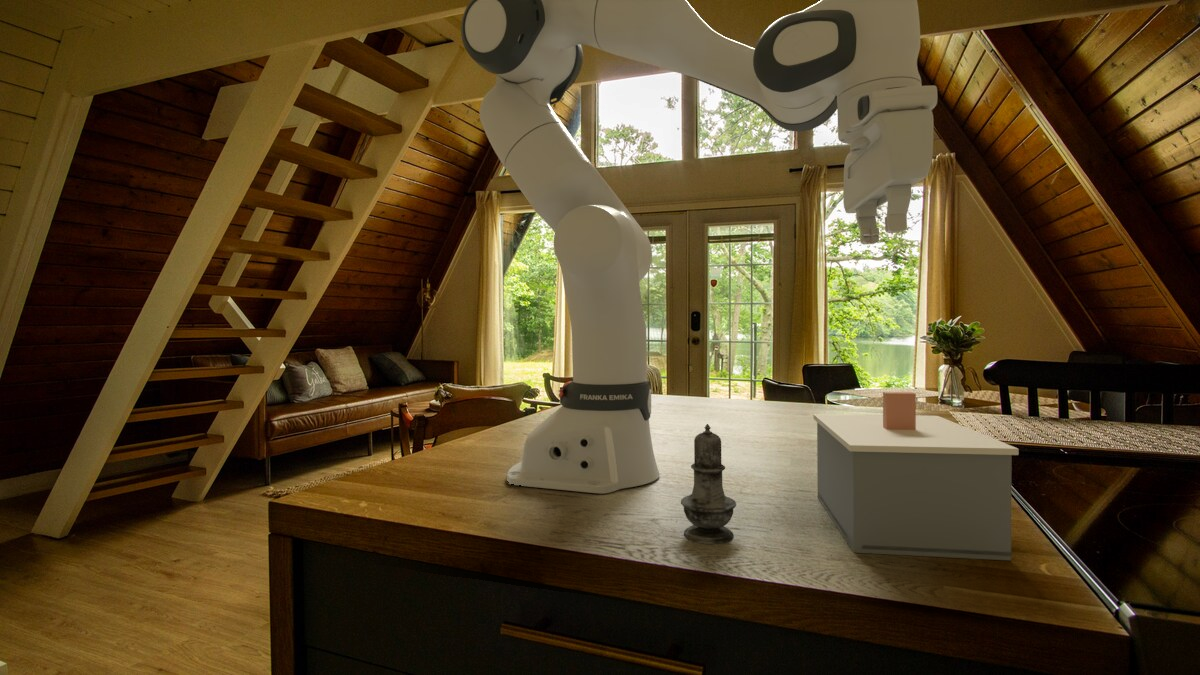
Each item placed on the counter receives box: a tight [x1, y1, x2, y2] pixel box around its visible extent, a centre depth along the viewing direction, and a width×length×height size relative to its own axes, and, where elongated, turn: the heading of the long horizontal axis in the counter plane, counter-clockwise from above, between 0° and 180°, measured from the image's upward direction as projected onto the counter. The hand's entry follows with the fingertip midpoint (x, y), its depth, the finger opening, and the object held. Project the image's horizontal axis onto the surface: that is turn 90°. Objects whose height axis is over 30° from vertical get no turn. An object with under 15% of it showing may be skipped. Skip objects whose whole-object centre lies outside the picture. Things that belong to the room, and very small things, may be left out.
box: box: [816, 422, 1013, 561], centre depth 65 cm, size 14×18×10 cm
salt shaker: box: [680, 423, 737, 545], centre depth 62 cm, size 6×6×12 cm
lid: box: [812, 391, 1020, 456], centre depth 64 cm, size 15×19×5 cm
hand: (881, 238), depth 68 cm, fingers open, 8 cm apart
